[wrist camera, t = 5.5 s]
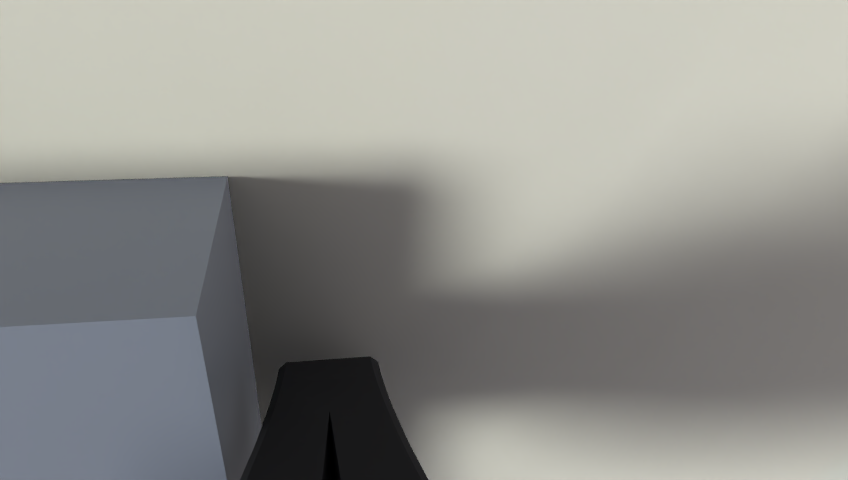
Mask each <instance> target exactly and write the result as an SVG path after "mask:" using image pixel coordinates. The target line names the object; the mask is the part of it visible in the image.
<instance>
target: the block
mask: <svg viewBox="0 0 848 480" xmlns="http://www.w3.org/2000/svg"><path fill="white" fill-rule="evenodd" d="M261 428H262V424H261V417H260V409H259V402H258V395H257V387H256V380H255V373H254V366H253V358H252V351H251V344H250V336H249V329H248V322H247V314H246V307H245V300H244V293H243V285H242V278H241V271H240V263H239V256H238V249H237V242H236V234H235V227H234V220H233V212H232V205H231V198H230V190H229V183H228V176H222V177H189V178H156V179H122V180H89V181H56V182H23V183H0V480H240V479H241V476H242V474H243V472H244V469H245V467H246V465H247V462H248V460H249V458H250V455H251V453H252V451H253V449H254V446H255V444H256V441H257V438H258V436H259V433H260V430H261Z"/></svg>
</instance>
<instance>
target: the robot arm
mask: <svg viewBox="0 0 848 480" xmlns="http://www.w3.org/2000/svg"><path fill="white" fill-rule="evenodd" d="M240 480H428V478H427V477H426V475H425V473H424V471H423V469H422V467H421V465H420V463H419V461H418V460H417V458H416V456H415V454H414V452H413V450H412V448H411V446H410V444H409V442H408V440H407V438H406V436H405V434H404V432H403V429H402V427H401V425H400V423H399V420H398V418H397V416H396V413H395V411H394V409H393V406H392V404H391V401H390V399H389V396H388V394H387V391H386V388H385V385H384V382H383V379H382V376H381V373H380V369H379V365H378V362H377V361H376V360H374V359H373V358H372V357H357V358H343V359H329V360H314V361H300V362H287V363H286V364H284V365H283V366H282V367H281V368H280V369H279V372H278V377H277V381H276V385H275V389H274V392H273V396H272V399H271V402H270V405H269V408H268V411H267V414H266V417H265V420H264V423H263V425H262V428H261V430H260V433H259V436H258V438H257V441H256V444H255V446H254V449H253V451H252V453H251V455H250V458H249V460H248V462H247V465H246V467H245V469H244V472H243V474H242V476H241V479H240Z"/></svg>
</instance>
